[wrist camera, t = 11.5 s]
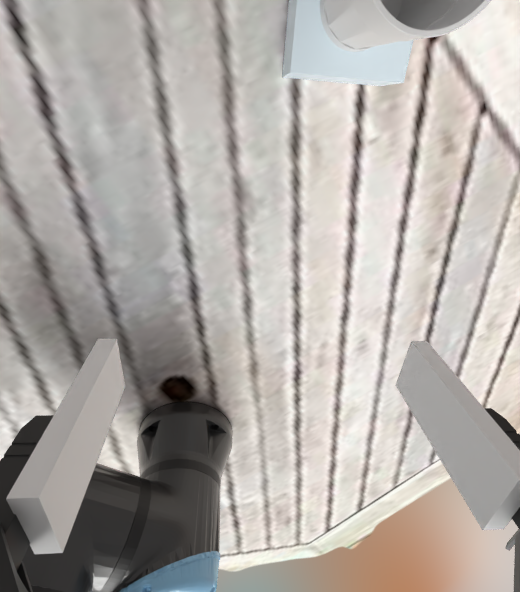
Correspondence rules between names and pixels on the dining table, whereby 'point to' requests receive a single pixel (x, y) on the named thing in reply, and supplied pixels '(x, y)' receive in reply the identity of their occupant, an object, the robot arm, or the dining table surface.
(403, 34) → the cup
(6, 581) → the robot arm
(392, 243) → the dining table surface
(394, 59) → the pedestal block
